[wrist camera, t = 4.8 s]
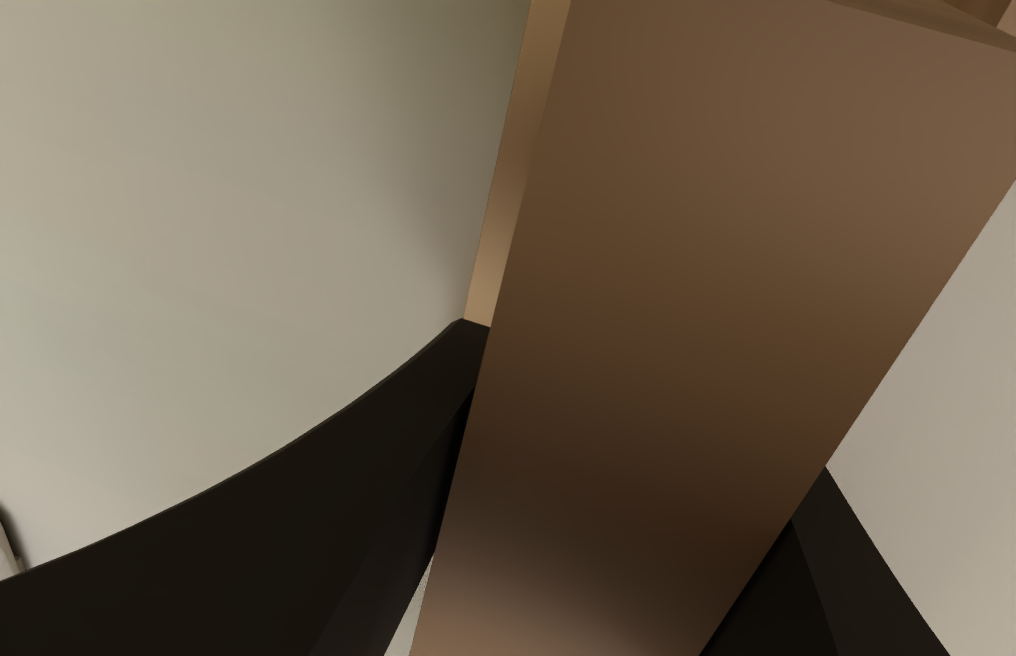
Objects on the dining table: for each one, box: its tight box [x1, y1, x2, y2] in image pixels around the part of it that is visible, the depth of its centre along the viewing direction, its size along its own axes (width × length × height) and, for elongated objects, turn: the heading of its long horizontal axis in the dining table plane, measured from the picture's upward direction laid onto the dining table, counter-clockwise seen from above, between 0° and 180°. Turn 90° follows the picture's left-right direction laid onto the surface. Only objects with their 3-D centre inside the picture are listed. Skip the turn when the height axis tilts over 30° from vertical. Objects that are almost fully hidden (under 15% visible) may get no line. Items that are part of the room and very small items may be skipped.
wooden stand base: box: [463, 0, 1016, 327], centre depth 13 cm, size 18×7×4 cm, turn 168°
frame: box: [409, 0, 1016, 656], centre depth 9 cm, size 10×3×6 cm, turn 168°
